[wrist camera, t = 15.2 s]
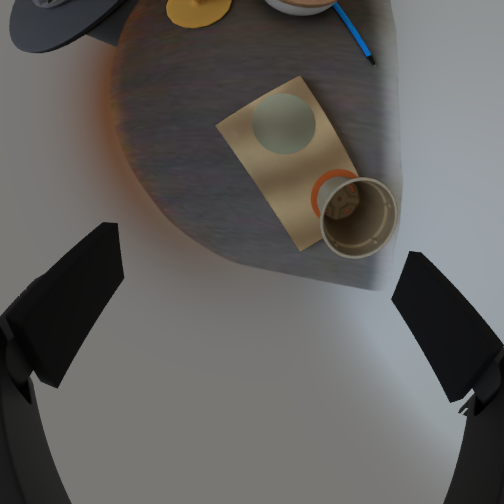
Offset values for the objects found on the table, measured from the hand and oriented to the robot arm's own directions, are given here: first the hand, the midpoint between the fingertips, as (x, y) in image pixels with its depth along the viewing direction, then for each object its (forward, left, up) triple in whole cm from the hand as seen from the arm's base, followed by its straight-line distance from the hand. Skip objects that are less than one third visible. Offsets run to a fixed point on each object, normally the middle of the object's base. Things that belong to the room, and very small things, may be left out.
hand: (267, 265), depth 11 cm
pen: (-14, +23, -27) cm, 38 cm away
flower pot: (+9, +7, -25) cm, 28 cm away
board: (+3, +5, -27) cm, 27 cm away
